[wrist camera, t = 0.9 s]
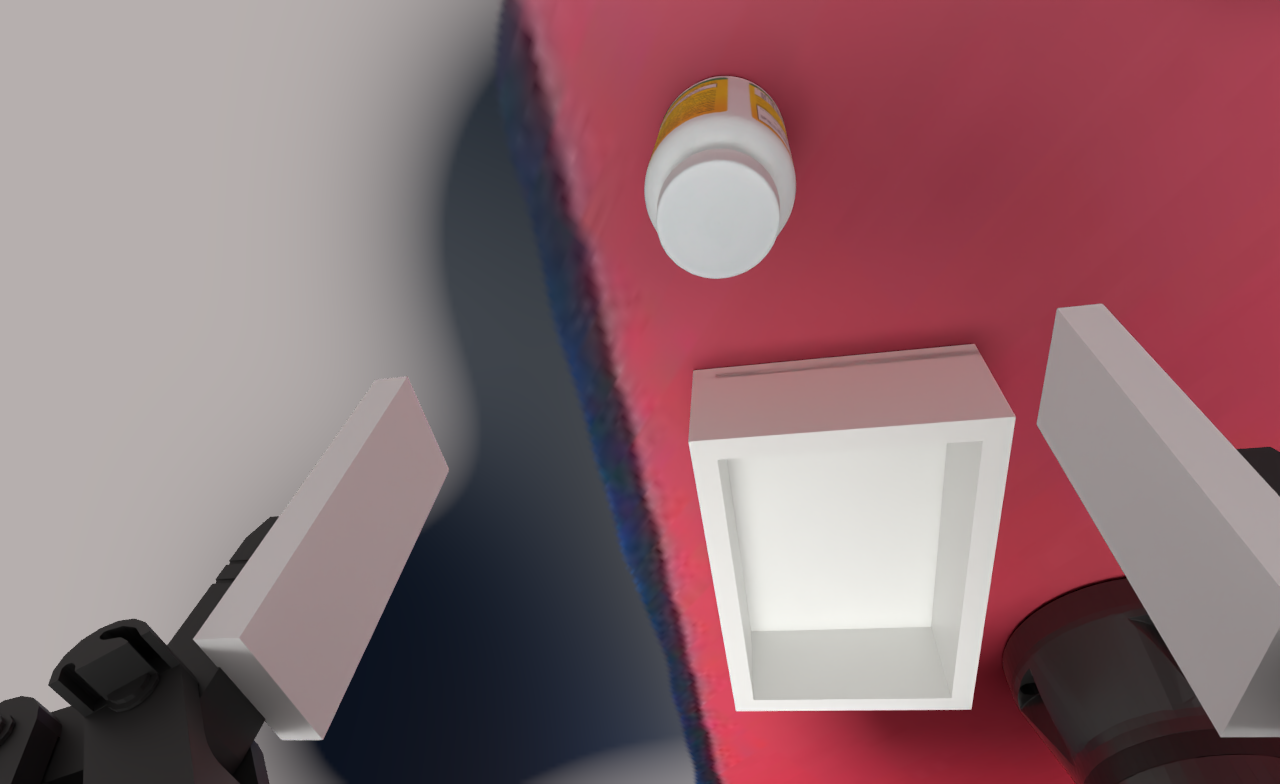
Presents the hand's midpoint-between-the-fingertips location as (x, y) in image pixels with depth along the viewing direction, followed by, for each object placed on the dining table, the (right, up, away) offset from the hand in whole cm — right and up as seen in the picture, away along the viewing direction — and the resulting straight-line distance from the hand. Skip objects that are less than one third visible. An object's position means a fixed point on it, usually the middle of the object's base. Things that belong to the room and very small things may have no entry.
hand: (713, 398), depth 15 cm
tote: (+10, -7, +27) cm, 30 cm away
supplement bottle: (+2, +11, +16) cm, 19 cm away
